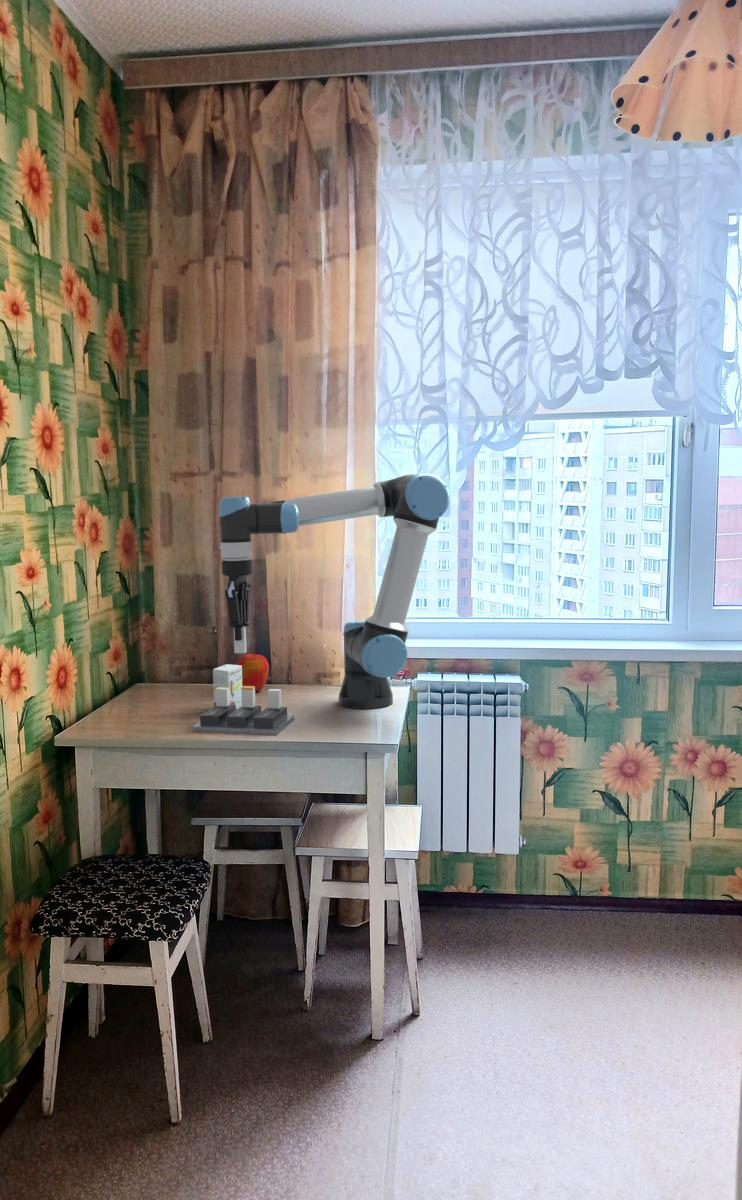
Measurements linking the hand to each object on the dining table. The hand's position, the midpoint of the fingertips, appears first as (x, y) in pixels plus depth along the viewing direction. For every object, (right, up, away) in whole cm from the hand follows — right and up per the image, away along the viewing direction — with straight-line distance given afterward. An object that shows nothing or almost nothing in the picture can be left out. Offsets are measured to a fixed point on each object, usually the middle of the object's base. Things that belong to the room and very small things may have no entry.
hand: (240, 652), depth 230 cm
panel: (+1, -19, +3) cm, 19 cm away
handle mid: (+1, -14, +6) cm, 15 cm away
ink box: (-6, -17, +19) cm, 26 cm away
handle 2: (+8, -14, +4) cm, 17 cm away
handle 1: (-6, -14, +7) cm, 17 cm away
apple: (-2, -14, +41) cm, 44 cm away
